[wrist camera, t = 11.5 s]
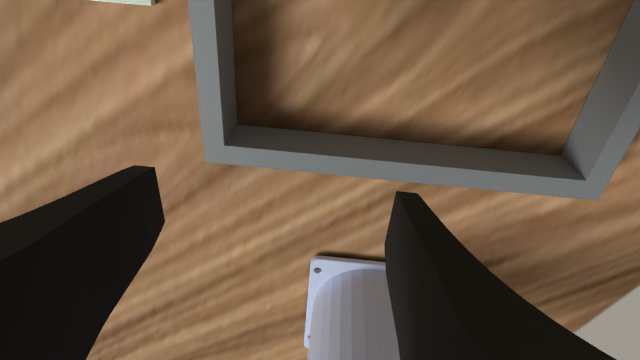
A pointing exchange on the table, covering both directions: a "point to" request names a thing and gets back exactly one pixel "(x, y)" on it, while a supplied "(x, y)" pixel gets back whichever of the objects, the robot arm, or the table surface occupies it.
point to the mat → (132, 2)
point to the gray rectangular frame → (418, 157)
